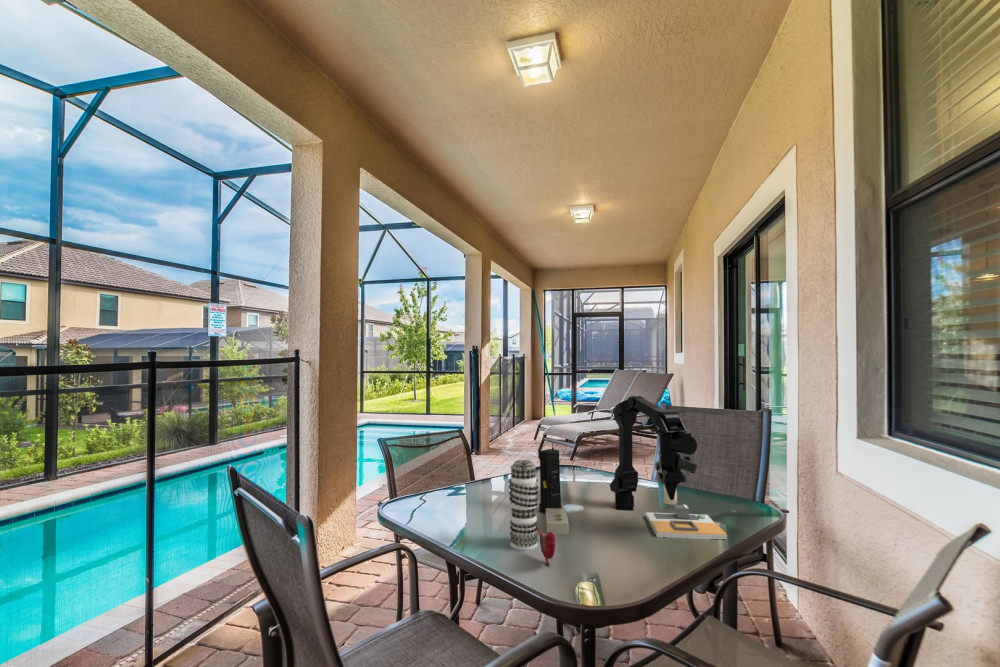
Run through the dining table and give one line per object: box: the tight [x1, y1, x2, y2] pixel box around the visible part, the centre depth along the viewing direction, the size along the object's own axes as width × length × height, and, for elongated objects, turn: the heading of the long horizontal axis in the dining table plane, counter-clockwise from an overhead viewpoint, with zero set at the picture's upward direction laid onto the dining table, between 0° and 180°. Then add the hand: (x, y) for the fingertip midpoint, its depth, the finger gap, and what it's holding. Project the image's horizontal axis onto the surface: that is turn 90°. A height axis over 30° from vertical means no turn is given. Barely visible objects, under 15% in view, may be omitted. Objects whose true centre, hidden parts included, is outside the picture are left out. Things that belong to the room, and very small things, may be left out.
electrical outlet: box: [545, 508, 570, 535], centre depth 158 cm, size 7×4×18 cm
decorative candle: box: [508, 459, 539, 551], centre depth 141 cm, size 9×9×25 cm
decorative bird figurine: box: [537, 527, 556, 567], centre depth 129 cm, size 3×18×10 cm, turn 9°
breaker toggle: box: [673, 504, 690, 518], centre depth 160 cm, size 4×4×3 cm
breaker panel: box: [645, 512, 728, 540], centre depth 154 cm, size 21×20×3 cm
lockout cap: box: [662, 483, 678, 506], centre depth 150 cm, size 4×4×6 cm
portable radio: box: [537, 442, 563, 514], centre depth 172 cm, size 8×6×25 cm
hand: (670, 498), depth 150 cm, fingers closed on lockout cap, 4 cm apart
